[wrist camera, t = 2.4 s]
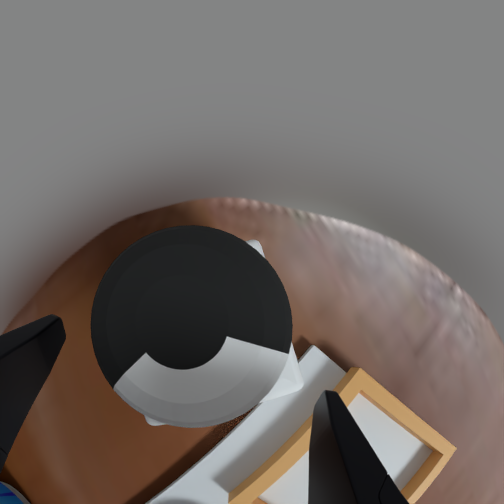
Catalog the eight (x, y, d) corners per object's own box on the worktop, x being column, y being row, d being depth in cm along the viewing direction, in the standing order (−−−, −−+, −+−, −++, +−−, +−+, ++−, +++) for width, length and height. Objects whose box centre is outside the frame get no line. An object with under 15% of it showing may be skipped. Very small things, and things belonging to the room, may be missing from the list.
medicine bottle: (150, 301, 19) (55, 233, 8) (251, 275, 20) (271, 174, 9) (177, 403, 17) (99, 463, 6) (282, 376, 18) (349, 408, 7)
